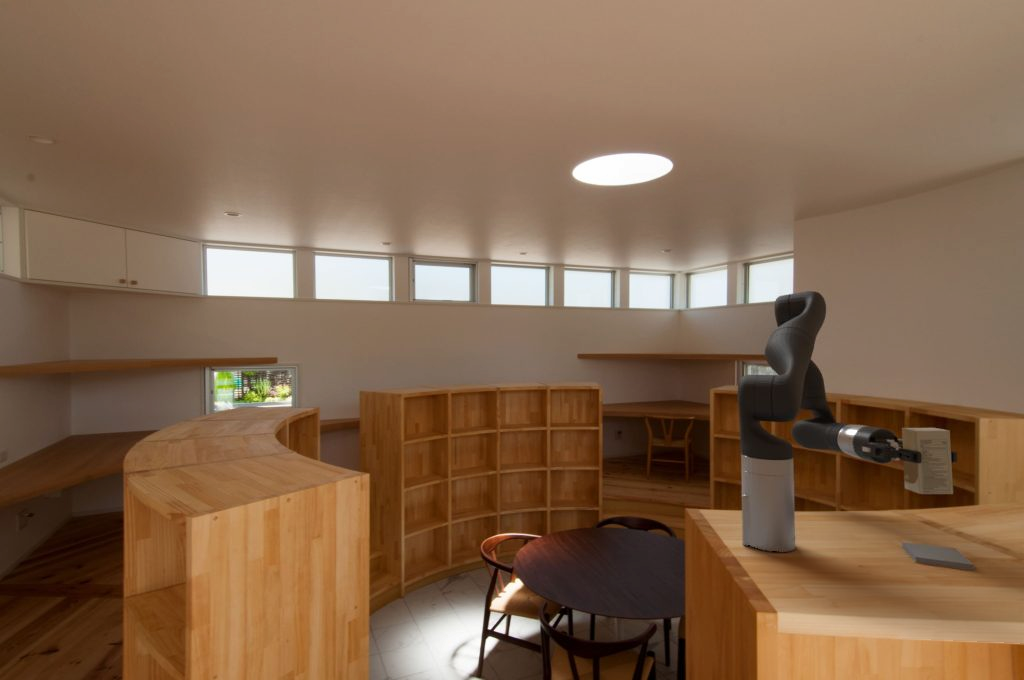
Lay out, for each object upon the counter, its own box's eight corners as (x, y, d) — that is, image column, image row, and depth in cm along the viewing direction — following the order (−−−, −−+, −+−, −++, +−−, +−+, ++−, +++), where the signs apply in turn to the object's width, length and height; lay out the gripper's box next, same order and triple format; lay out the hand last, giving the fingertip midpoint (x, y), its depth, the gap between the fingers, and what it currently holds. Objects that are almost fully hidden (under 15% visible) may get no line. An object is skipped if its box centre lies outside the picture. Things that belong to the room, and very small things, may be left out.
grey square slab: (915, 562, 88) (915, 556, 88) (902, 547, 95) (902, 541, 96) (973, 570, 85) (973, 564, 85) (955, 553, 92) (955, 548, 92)
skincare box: (936, 489, 98) (935, 427, 98) (954, 495, 93) (952, 430, 94) (902, 488, 98) (900, 426, 99) (917, 494, 94) (916, 429, 94)
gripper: (836, 426, 110) (902, 438, 93) (896, 425, 111) (971, 437, 95) (837, 460, 109) (903, 478, 93) (896, 459, 111) (972, 476, 94)
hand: (937, 457), depth 94 cm, fingers closed on skincare box, 6 cm apart
